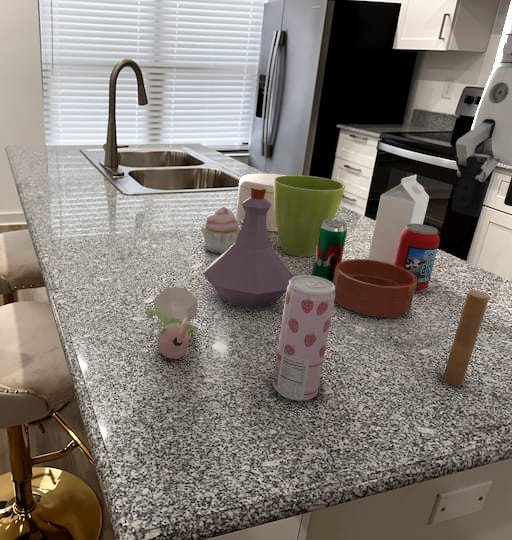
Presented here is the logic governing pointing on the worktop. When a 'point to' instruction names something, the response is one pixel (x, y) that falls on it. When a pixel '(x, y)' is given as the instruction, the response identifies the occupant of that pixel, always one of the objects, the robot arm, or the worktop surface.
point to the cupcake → (220, 231)
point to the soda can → (329, 248)
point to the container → (268, 183)
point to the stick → (465, 337)
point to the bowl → (374, 287)
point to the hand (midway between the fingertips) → (491, 210)
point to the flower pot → (304, 210)
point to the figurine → (174, 320)
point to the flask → (250, 261)
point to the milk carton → (397, 217)
